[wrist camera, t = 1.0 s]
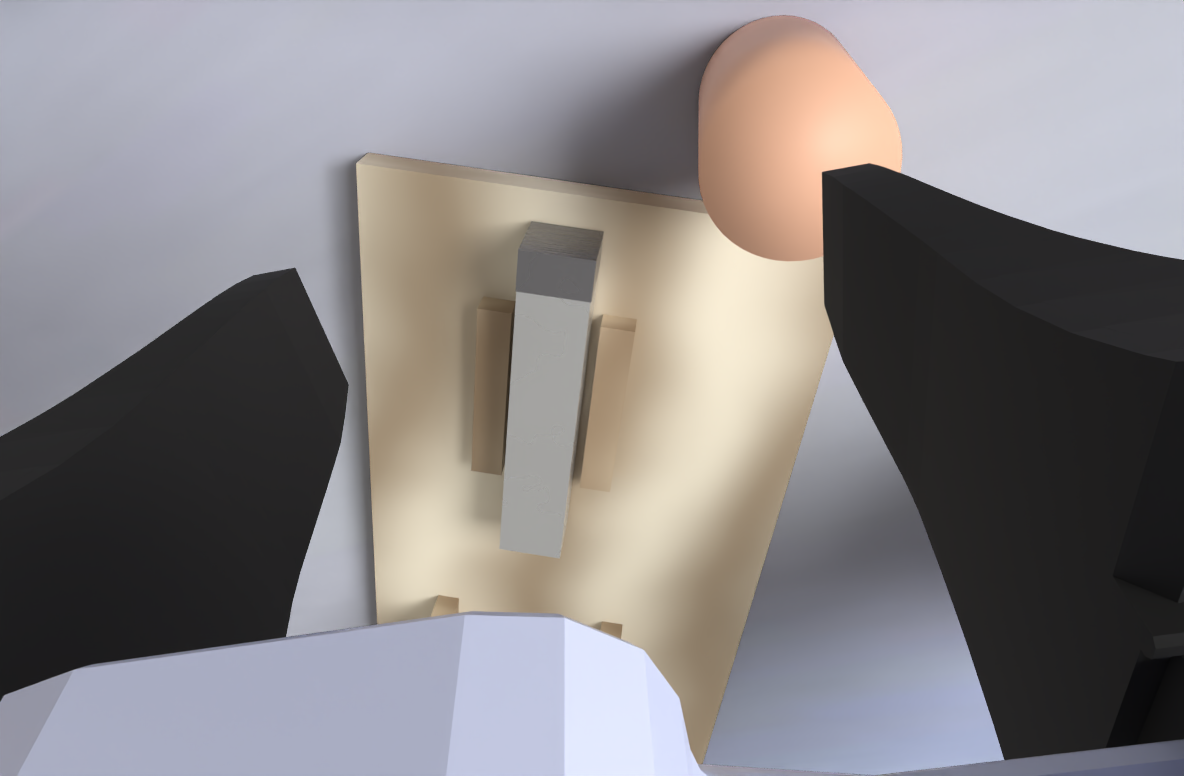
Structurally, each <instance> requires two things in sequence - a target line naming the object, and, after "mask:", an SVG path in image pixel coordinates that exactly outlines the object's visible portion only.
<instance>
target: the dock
mask: <svg viewBox="0 0 1184 776" xmlns="http://www.w3.org/2000/svg"><path fill="white" fill-rule="evenodd" d="M356 175H357V197H358V218H359V240H360V262H361V283H362V305H363V326H364V348H365V370H366V391H367V413H368V434H369V456H370V478H371V499H372V521H373V542H374V564H375V586H376V607H377V624H384V623H391V622H398V621H405V620H412V619H419V618H427V617H434V616H441V615H448V614H455V613H462V612H469V611H484V612H519V613H554V614H561V615H563V616H566V617H568V618H571V619H573V620H576V621H578V622H581V623H583V624H586V625H588V626H590V627H593V628H595V629H598V630H600V631H603V632H605V633H608V634H610V635H613V636H615V637H617V638H620V639H622V640H625V641H627V642H630V643H631V644H633V645H635V646H637V647H639V648H641V649H643V650H644V651H645V652H646V653H647V655H648V656H649V657H650V659H651V660H652V662H653V663H654V664H655V666H656V667H657V668H658V670H659V671H660V672H661V674H662V675H663V676H664V678H665V679H666V681H667V682H668V683H669V685H670V686H671V687H672V689H673V690H674V691H675V693H676V694H677V695H678V697H679V699H680V703H681V708H682V713H683V717H684V722H685V727H686V731H687V736H688V741H689V745H690V750H691V752H692V754H693V756H694V758H695V760H696V762H697V764H703V760H704V757H705V754H706V751H707V747H708V744H709V741H710V738H711V734H712V731H713V728H714V725H715V721H716V718H717V715H718V711H719V708H720V705H721V702H722V698H723V695H724V692H725V689H726V685H727V682H728V679H729V675H730V672H731V669H732V666H733V662H734V659H735V656H736V653H737V649H738V646H739V643H740V639H741V636H742V633H743V630H744V626H745V623H746V620H747V617H748V613H749V610H750V607H751V603H752V600H753V597H754V594H755V590H756V587H757V584H758V581H759V577H760V574H761V571H762V567H763V564H764V561H765V558H766V554H767V551H768V548H769V545H770V541H771V538H772V535H773V532H774V528H775V525H776V522H777V518H778V515H779V512H780V509H781V505H782V502H783V499H784V496H785V492H786V489H787V486H788V482H789V479H790V476H791V473H792V469H793V466H794V463H795V460H796V456H797V453H798V450H799V446H800V443H801V440H802V437H803V433H804V430H805V427H806V424H807V420H808V417H809V414H810V410H811V407H812V404H813V401H814V397H815V394H816V391H817V388H818V384H819V381H820V378H821V374H822V371H823V368H824V365H825V361H826V358H827V355H828V352H829V348H830V345H831V342H832V339H833V335H834V334H833V331H832V328H831V324H830V321H829V318H828V315H827V312H826V309H825V306H824V269H823V256H822V257H819V258H815V259H810V260H804V261H777V260H771V259H767V258H763V257H760V256H757V255H754V254H751V253H749V252H747V251H745V250H743V249H741V248H740V247H738V246H737V245H735V244H734V243H732V242H731V241H730V240H729V239H728V238H727V237H726V236H724V235H723V234H722V232H721V231H720V230H719V229H718V228H717V227H716V225H715V224H714V222H713V221H712V219H711V218H710V216H709V214H708V212H707V210H706V208H705V206H704V203H703V201H702V200H695V199H688V198H681V197H674V196H667V195H660V194H653V193H646V192H639V191H632V190H625V189H618V188H611V187H604V186H597V185H590V184H583V183H576V182H569V181H562V180H555V179H549V178H542V177H535V176H528V175H521V174H514V173H507V172H500V171H493V170H486V169H479V168H472V167H465V166H458V165H451V164H444V163H437V162H430V161H423V160H416V159H409V158H402V157H395V156H388V155H381V154H374V153H367V154H366V155H365V156H364V157H363V158H361V159H360V160H359V161H358V162H357V163H356ZM531 221H535V222H542V223H548V224H555V225H562V226H569V227H576V228H583V229H590V230H597V231H604V235H603V243H602V251H601V259H600V267H599V273H598V277H597V285H596V294H595V302H594V310H593V318H592V326H591V334H590V342H589V350H588V358H587V366H586V375H585V383H584V391H583V399H582V407H581V415H580V423H579V431H578V439H577V447H576V456H575V464H574V472H573V480H572V488H571V496H570V504H569V512H568V519H567V524H566V529H565V534H564V539H563V544H562V549H561V554H560V558H553V557H547V556H541V555H534V554H528V553H522V552H515V551H509V550H503V549H499V547H500V531H501V516H502V501H503V486H504V470H505V455H506V440H507V425H508V410H509V394H510V379H511V364H512V349H513V334H514V318H515V303H516V291H515V290H516V275H517V259H518V249H519V247H520V245H521V243H522V240H523V238H524V236H525V234H526V232H527V230H528V227H529V225H530V223H531Z"/></svg>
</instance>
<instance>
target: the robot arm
mask: <svg viewBox="0 0 1184 776" xmlns="http://www.w3.org/2000/svg"><path fill="white" fill-rule="evenodd" d="M822 214H823V269H824V306H825V309H826V312H827V315H828V318H829V321H830V324H831V328H832V331H833V334H834V337H835V340H836V343H837V345H838V348H839V351H840V354H841V357H842V360H843V362H844V364H845V366H846V368H847V370H848V372H849V374H850V376H851V378H852V380H853V382H854V384H855V386H856V388H857V390H858V392H859V394H860V396H861V398H862V400H863V402H864V404H865V406H866V407H867V409H868V411H869V413H870V415H871V417H872V419H873V421H874V423H875V425H876V427H877V428H878V430H879V432H880V434H881V436H882V438H883V440H884V442H885V444H886V446H887V448H888V449H889V451H890V453H891V455H892V457H893V459H894V461H895V463H896V465H897V467H898V469H899V471H900V472H901V474H902V476H903V478H904V480H905V482H906V484H907V486H908V489H909V491H910V493H911V495H912V497H913V499H914V502H915V504H916V506H917V508H918V510H919V513H920V516H921V518H922V521H923V524H924V526H925V529H926V532H927V534H928V537H929V540H930V542H931V545H932V548H933V550H934V553H935V556H936V558H937V561H938V564H939V566H940V569H941V571H942V574H943V577H944V580H945V583H946V586H947V588H948V591H949V594H950V597H951V600H952V603H953V605H954V608H955V611H956V614H957V617H958V620H959V622H960V625H961V628H962V631H963V634H964V637H965V639H966V642H967V645H968V648H969V651H970V654H971V657H972V660H973V663H974V666H975V670H976V673H977V676H978V679H979V682H980V685H981V688H982V691H983V694H984V697H985V700H986V703H987V706H988V709H989V712H990V715H991V718H992V721H993V724H994V727H995V731H996V734H997V737H998V740H999V744H1000V747H1001V750H1002V754H1003V757H1004V760H1002V761H993V762H985V763H976V764H968V765H959V766H951V767H942V768H933V769H925V770H916V771H908V772H899V773H891V774H882V775H860V774H845V773H829V772H814V771H799V770H783V769H768V768H752V767H737V766H721V765H706V764H697V762H696V760H695V758H694V756H693V754H692V752H691V750H690V745H689V741H688V736H687V731H686V727H685V722H684V717H683V713H682V708H681V703H680V699H679V697H678V695H677V694H676V693H675V691H674V690H673V689H672V687H671V686H670V685H669V683H668V682H667V681H666V679H665V678H664V676H663V675H662V674H661V672H660V671H659V670H658V668H657V667H656V666H655V664H654V663H653V662H652V660H651V659H650V657H649V656H648V655H647V653H646V652H645V651H644V650H643V649H641V648H639V647H637V646H635V645H633V644H631V643H630V642H627V641H625V640H622V639H620V638H617V637H615V636H613V635H610V634H608V633H605V632H603V631H600V630H598V629H595V628H593V627H590V626H588V625H586V624H583V623H581V622H578V621H576V620H573V619H571V618H568V617H566V616H563V615H561V614H554V613H519V612H484V611H469V612H462V613H455V614H448V615H441V616H434V617H427V618H419V619H412V620H405V621H398V622H391V623H384V624H377V625H369V626H362V627H355V628H348V629H341V630H334V631H327V632H320V633H312V634H305V635H298V636H291V637H286V634H287V628H288V623H289V618H290V612H291V607H292V602H293V598H294V594H295V590H296V586H297V583H298V579H299V575H300V571H301V568H302V565H303V562H304V559H305V556H306V553H307V549H308V546H309V543H310V540H311V537H312V534H313V531H314V527H315V524H316V521H317V518H318V515H319V512H320V509H321V505H322V502H323V499H324V496H325V493H326V490H327V487H328V483H329V480H330V477H331V473H332V470H333V467H334V464H335V460H336V457H337V454H338V450H339V447H340V443H341V437H342V431H343V425H344V419H345V411H346V402H347V394H348V382H347V380H346V378H345V376H344V374H343V371H342V369H341V367H340V365H339V363H338V360H337V358H336V356H335V354H334V352H333V350H332V347H331V345H330V343H329V341H328V339H327V336H326V334H325V332H324V330H323V328H322V325H321V323H320V321H319V319H318V317H317V314H316V312H315V310H314V308H313V306H312V304H311V301H310V299H309V297H308V295H307V293H306V290H305V288H304V286H303V284H302V282H301V279H300V277H299V275H298V273H297V271H296V268H291V269H286V270H280V271H275V272H269V273H264V274H259V275H253V276H251V277H249V278H247V279H245V280H243V281H241V282H239V283H237V284H235V285H234V286H232V287H230V288H229V289H227V290H226V291H224V292H222V293H221V294H219V295H218V296H216V297H215V298H213V299H212V300H210V301H209V302H207V303H206V304H205V305H203V306H202V307H200V308H199V309H197V310H196V311H195V312H193V313H192V314H190V315H189V316H187V317H186V318H185V319H183V320H182V321H180V322H179V323H178V324H176V325H175V326H173V327H172V328H171V329H169V330H168V331H166V332H165V333H164V334H162V335H161V336H159V337H158V338H157V339H155V340H154V341H152V342H151V343H150V344H148V345H147V346H145V347H144V348H142V349H141V350H140V351H138V352H137V353H135V354H134V355H132V356H131V357H129V358H128V359H126V360H125V361H123V362H122V363H120V364H119V365H117V366H116V367H114V368H113V369H111V370H110V371H108V372H107V373H105V374H104V375H102V376H101V377H99V378H98V379H96V380H95V381H93V382H92V383H90V384H89V385H87V386H86V387H84V388H83V389H81V390H80V391H78V392H77V393H75V394H74V395H72V396H70V397H69V398H67V399H66V400H64V401H62V402H61V403H59V404H57V405H56V406H54V407H52V408H51V409H49V410H47V411H46V412H44V413H42V414H41V415H39V416H37V417H35V418H33V419H32V420H30V421H28V422H26V423H24V424H23V425H21V426H19V427H17V428H16V429H14V430H12V431H10V432H8V433H7V434H5V435H3V436H1V437H0V776H1184V260H1181V259H1175V258H1168V257H1163V256H1158V255H1153V254H1148V253H1142V252H1137V251H1132V250H1128V249H1124V248H1120V247H1116V246H1111V245H1107V244H1103V243H1099V242H1095V241H1090V240H1086V239H1082V238H1078V237H1074V236H1071V235H1067V234H1064V233H1060V232H1057V231H1053V230H1050V229H1047V228H1044V227H1041V226H1038V225H1035V224H1032V223H1029V222H1025V221H1022V220H1019V219H1016V218H1013V217H1010V216H1007V215H1005V214H1002V213H999V212H996V211H994V210H991V209H988V208H985V207H983V206H980V205H978V204H975V203H972V202H970V201H967V200H965V199H962V198H960V197H957V196H955V195H952V194H950V193H948V192H945V191H943V190H940V189H938V188H935V187H933V186H931V185H928V184H926V183H923V182H921V181H919V180H916V179H914V178H911V177H909V176H906V175H904V174H901V173H899V172H896V171H894V170H891V169H888V168H886V167H882V166H879V165H875V164H871V163H867V164H862V165H856V166H851V167H845V168H840V169H834V170H829V171H823V172H822Z"/></svg>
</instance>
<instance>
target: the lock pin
mask: <svg viewBox="0 0 1184 776" xmlns="http://www.w3.org/2000/svg"><path fill="white" fill-rule="evenodd" d="M603 235H604V231H597V230H590V229H583V228H576V227H569V226H562V225H555V224H548V223H542V222H535V221H531V223H530V225H529V227H528V230H527V232H526V234H525V236H524V238H523V240H522V243H521V245H520V247H519V249H518V259H517V275H516V290H515V291H516V303H515V318H514V334H513V349H512V364H511V379H510V394H509V410H508V425H507V440H506V455H505V470H504V486H503V501H502V516H501V531H500V547H499V549H503V550H509V551H515V552H522V553H528V554H534V555H541V556H547V557H553V558H560V554H561V549H562V544H563V539H564V534H565V529H566V524H567V519H568V512H569V504H570V496H571V488H572V480H573V472H574V464H575V456H576V447H577V439H578V431H579V423H580V415H581V407H582V399H583V391H584V383H585V375H586V366H587V358H588V350H589V342H590V334H591V326H592V318H593V310H594V302H595V294H596V285H597V277H598V273H599V267H600V259H601V251H602V243H603Z"/></svg>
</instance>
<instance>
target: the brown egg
mask: <svg viewBox="0 0 1184 776" xmlns="http://www.w3.org/2000/svg"><path fill="white" fill-rule="evenodd" d="M867 163H871V164H875V165H879V166H882V167H886V168H888V169H891V170H894V171H896V172H899V173H900V172H901V164H902V143H901V137H900V132H899V128H898V125H897V122H896V119H895V117H894V115H893V113H892V111H891V110H890V108H889V106H888V105H887V103H886V102H885V101H884V99H883V98H882V96H881V95H880V94H879V93H878V91H877V90H876V89H875V87H874V86H873V85H872V84H871V82H870V81H869V80H868V78H867V77H866V76H865V74H864V73H863V72H862V71H861V69H860V68H859V67H858V65H857V64H856V63H855V62H854V60H853V59H852V58H851V56H850V55H849V54H848V52H847V51H846V50H845V49H844V47H843V46H842V45H841V43H840V42H839V41H838V40H837V39H836V38H835V37H834V36H833V35H832V33H830V32H829V31H828V30H826V29H825V28H824V27H822V26H821V25H819V24H817V23H815V22H813V21H810V20H808V19H805V18H801V17H796V16H786V15H781V16H771V17H766V18H762V19H759V20H756V21H753V22H751V23H749V24H747V25H745V26H743V27H741V28H740V29H738V30H737V31H735V32H734V33H732V34H731V35H730V36H729V37H728V38H727V39H726V40H724V42H723V43H722V44H721V45H720V46H719V47H718V48H717V50H716V51H715V53H714V54H713V55H712V57H711V59H710V60H709V62H708V64H707V66H706V68H705V71H704V74H703V76H702V80H701V84H700V89H699V124H698V175H699V186H700V193H701V196H702V199H703V203H704V206H705V208H706V210H707V212H708V214H709V216H710V218H711V219H712V221H713V222H714V224H715V225H716V227H717V228H718V229H719V230H720V231H721V232H722V234H723V235H724V236H726V237H727V238H728V239H729V240H730V241H731V242H732V243H734V244H735V245H737V246H738V247H740V248H741V249H743V250H745V251H747V252H749V253H751V254H754V255H757V256H760V257H763V258H767V259H771V260H777V261H804V260H810V259H815V258H819V257H822V256H823V214H822V172H823V171H829V170H834V169H840V168H845V167H851V166H856V165H862V164H867Z"/></svg>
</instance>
